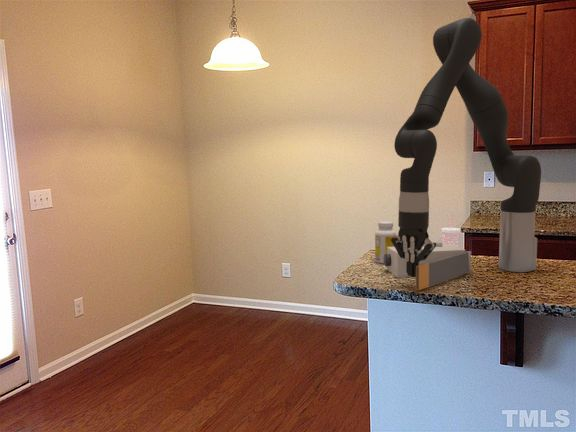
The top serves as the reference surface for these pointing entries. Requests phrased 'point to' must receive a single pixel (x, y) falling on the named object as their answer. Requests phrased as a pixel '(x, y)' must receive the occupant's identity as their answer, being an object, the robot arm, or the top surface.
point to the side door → (442, 270)
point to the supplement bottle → (383, 240)
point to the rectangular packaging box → (439, 252)
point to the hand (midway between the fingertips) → (412, 275)
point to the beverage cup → (450, 234)
